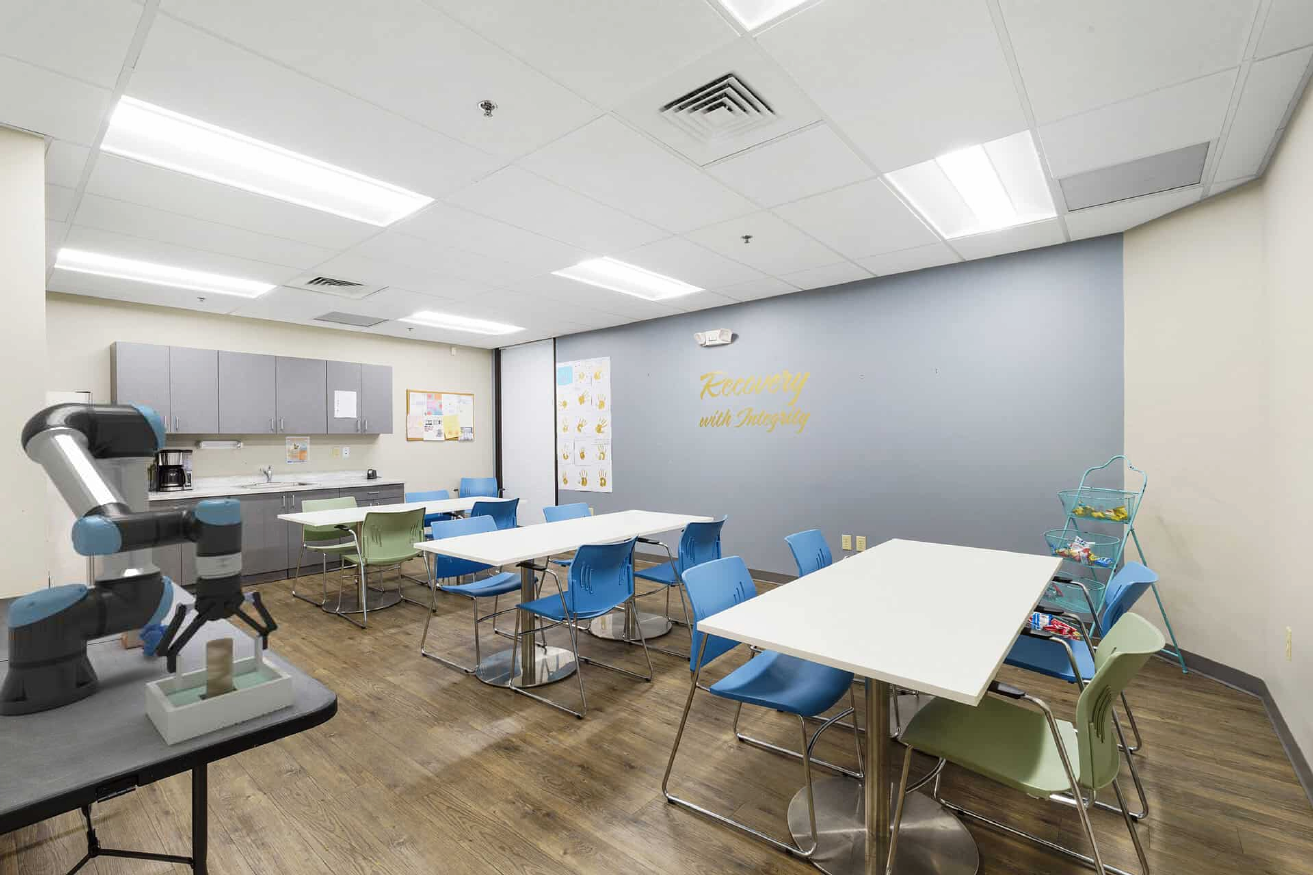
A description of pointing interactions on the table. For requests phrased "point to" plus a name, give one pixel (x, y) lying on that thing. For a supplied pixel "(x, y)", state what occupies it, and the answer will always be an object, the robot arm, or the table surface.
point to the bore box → (216, 700)
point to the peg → (219, 667)
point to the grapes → (152, 637)
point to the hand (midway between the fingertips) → (219, 676)
